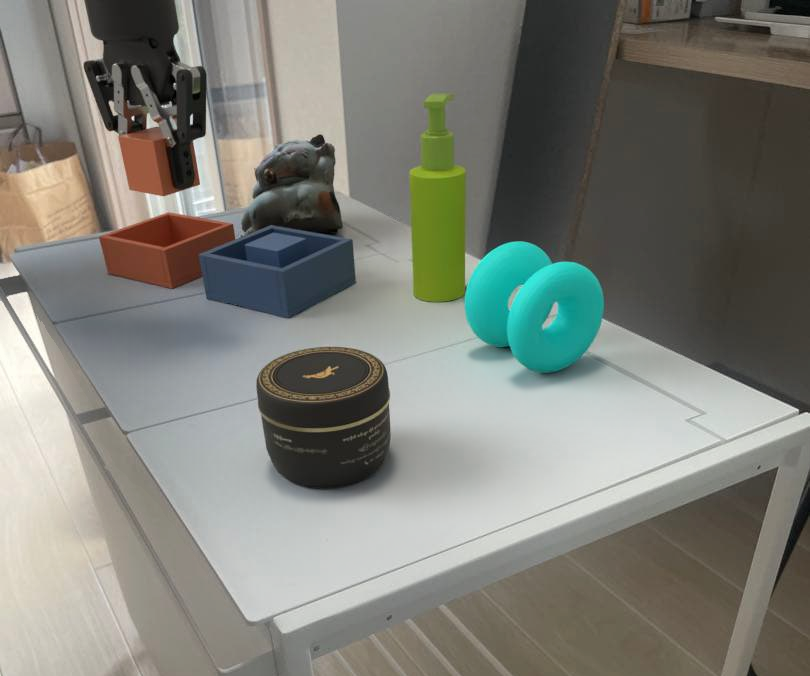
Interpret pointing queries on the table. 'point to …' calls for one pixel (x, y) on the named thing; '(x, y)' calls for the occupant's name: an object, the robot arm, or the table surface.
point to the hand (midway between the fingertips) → (164, 183)
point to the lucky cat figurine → (295, 189)
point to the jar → (325, 415)
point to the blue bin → (279, 273)
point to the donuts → (534, 306)
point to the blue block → (276, 250)
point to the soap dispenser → (438, 211)
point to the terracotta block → (149, 162)
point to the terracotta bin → (163, 248)
